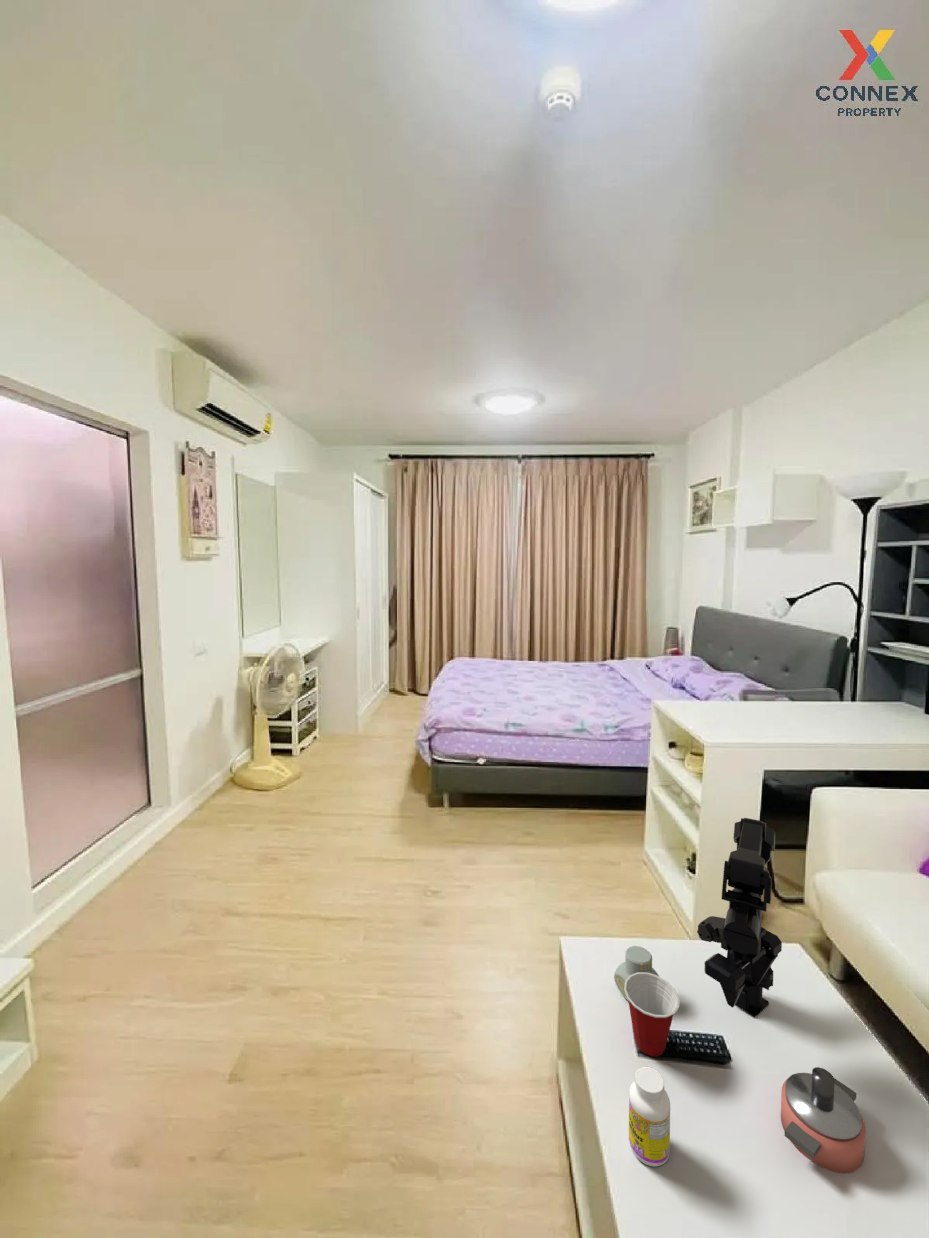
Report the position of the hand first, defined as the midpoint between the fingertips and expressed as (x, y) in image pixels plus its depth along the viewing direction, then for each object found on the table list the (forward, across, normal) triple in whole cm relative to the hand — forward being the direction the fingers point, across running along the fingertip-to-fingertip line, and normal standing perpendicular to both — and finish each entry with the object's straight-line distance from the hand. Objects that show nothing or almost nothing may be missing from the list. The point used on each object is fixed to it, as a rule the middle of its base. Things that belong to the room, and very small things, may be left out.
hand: (743, 994), depth 106 cm
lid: (+8, +4, +16) cm, 18 cm away
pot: (+13, +4, +16) cm, 21 cm away
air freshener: (+13, +4, -22) cm, 26 cm away
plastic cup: (+13, +13, -12) cm, 22 cm away
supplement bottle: (+13, +30, 0) cm, 33 cm away
